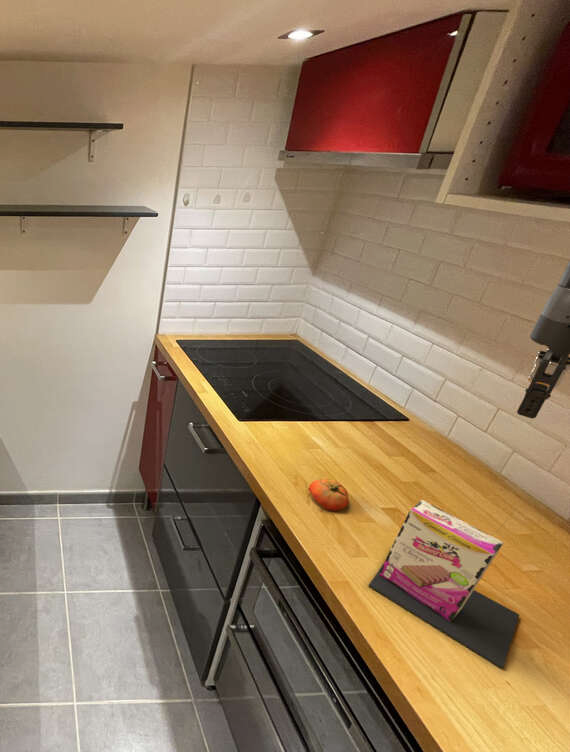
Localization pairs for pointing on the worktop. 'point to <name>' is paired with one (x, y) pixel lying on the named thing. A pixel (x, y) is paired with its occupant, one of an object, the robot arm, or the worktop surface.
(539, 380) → the robot arm
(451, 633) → the mat
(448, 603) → the candy bar box
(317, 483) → the tomato
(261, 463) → the worktop surface
